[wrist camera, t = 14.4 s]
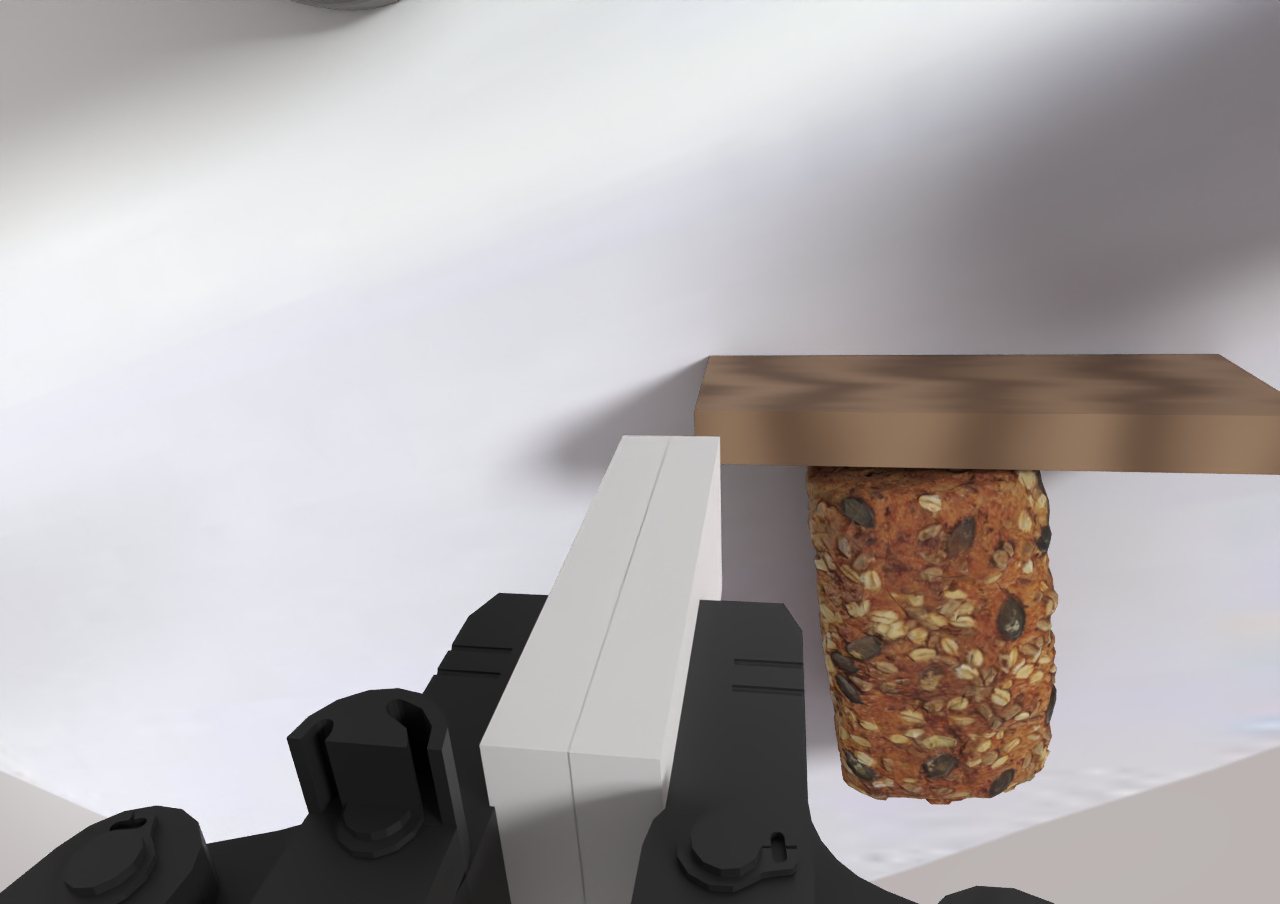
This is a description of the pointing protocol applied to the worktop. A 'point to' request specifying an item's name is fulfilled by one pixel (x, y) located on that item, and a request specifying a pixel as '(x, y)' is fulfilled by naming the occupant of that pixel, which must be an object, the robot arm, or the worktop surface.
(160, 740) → the worktop surface
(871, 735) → the bread
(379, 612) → the worktop surface
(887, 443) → the walnut board
